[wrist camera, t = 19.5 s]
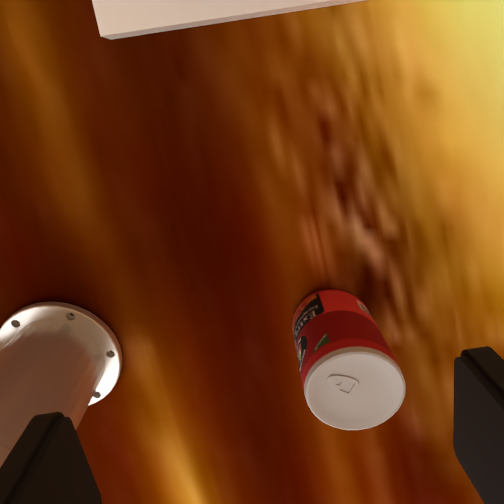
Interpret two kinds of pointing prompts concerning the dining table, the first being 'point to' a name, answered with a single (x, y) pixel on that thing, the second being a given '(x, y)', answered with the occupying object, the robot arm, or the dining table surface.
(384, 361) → the canned food
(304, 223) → the dining table surface
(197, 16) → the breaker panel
